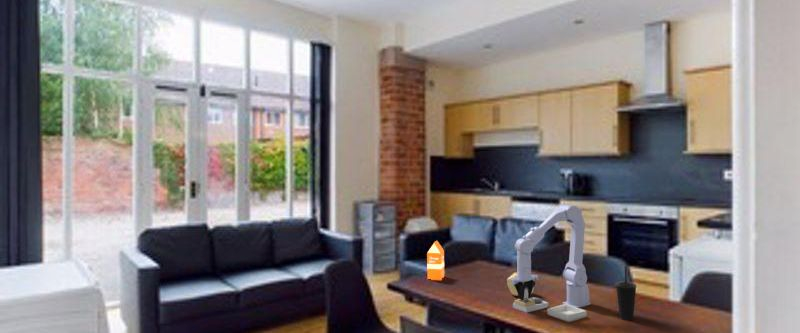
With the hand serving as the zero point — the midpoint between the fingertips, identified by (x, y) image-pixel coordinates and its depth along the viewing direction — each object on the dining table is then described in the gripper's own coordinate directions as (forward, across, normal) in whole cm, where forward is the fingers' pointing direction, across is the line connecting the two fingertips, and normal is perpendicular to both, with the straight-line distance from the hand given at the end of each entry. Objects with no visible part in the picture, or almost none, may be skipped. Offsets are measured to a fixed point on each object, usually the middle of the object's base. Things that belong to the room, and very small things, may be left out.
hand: (524, 298), depth 201 cm
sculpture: (+5, -14, -16) cm, 21 cm away
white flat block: (+4, -4, 0) cm, 6 cm away
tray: (+4, -8, +16) cm, 18 cm away
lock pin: (+2, 0, 0) cm, 2 cm away
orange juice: (+5, +2, -65) cm, 65 cm away
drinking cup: (+5, -24, +31) cm, 40 cm away
